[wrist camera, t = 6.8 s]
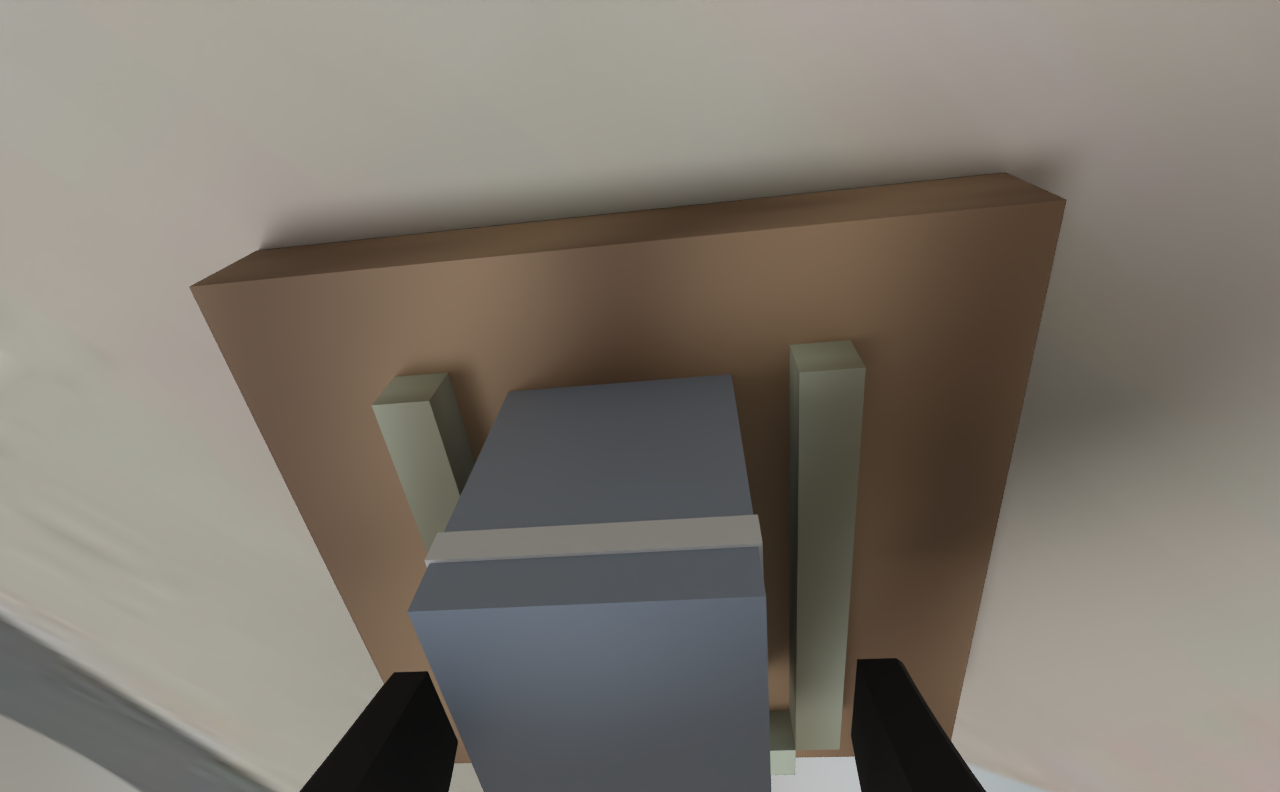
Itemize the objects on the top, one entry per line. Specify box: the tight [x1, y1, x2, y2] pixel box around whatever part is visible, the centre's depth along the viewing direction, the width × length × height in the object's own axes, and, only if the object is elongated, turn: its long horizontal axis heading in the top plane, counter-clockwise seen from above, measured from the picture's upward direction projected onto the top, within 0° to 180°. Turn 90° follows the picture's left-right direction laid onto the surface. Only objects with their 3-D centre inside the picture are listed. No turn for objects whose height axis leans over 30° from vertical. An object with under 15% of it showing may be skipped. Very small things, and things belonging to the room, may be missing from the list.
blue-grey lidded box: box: [407, 374, 771, 792], centre depth 11 cm, size 4×8×5 cm, turn 7°
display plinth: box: [190, 173, 1066, 775], centre depth 14 cm, size 14×14×3 cm
